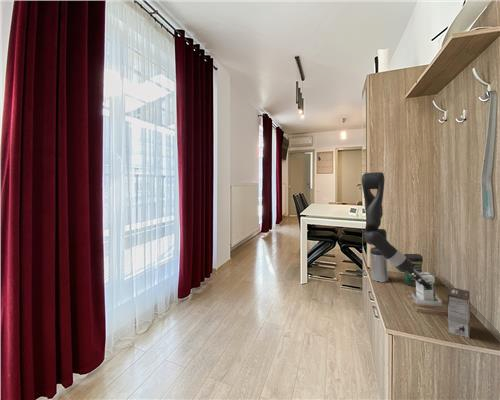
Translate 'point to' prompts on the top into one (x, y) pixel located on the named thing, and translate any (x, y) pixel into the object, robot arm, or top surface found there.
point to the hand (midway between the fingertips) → (426, 284)
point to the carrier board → (429, 309)
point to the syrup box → (422, 291)
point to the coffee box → (459, 312)
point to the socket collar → (427, 301)
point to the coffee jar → (417, 265)
